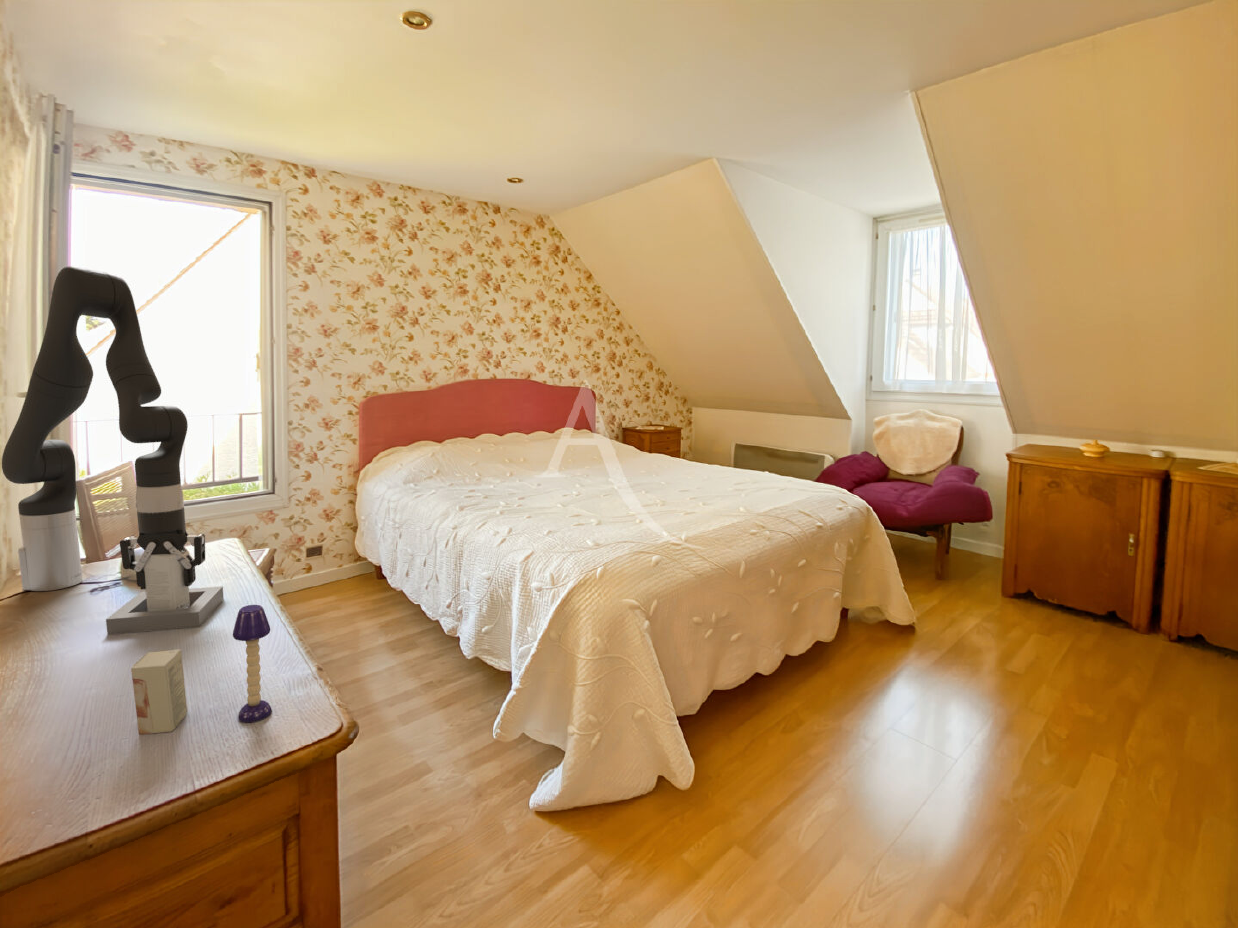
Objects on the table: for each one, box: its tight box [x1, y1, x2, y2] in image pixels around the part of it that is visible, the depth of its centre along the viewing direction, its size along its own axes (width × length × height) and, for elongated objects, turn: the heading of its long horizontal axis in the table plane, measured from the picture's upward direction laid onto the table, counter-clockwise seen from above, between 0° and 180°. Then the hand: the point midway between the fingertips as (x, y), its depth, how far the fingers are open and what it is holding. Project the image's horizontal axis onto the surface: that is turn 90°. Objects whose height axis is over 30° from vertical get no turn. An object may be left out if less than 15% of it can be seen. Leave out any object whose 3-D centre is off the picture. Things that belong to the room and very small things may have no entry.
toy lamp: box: [232, 604, 273, 723], centre depth 88 cm, size 5×5×17 cm
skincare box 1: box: [144, 551, 190, 612], centre depth 123 cm, size 6×4×12 cm
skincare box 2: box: [130, 649, 188, 735], centre depth 86 cm, size 5×4×10 cm
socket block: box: [105, 585, 225, 635], centre depth 124 cm, size 15×15×3 cm
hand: (167, 586), depth 123 cm, fingers closed on skincare box 1, 7 cm apart
